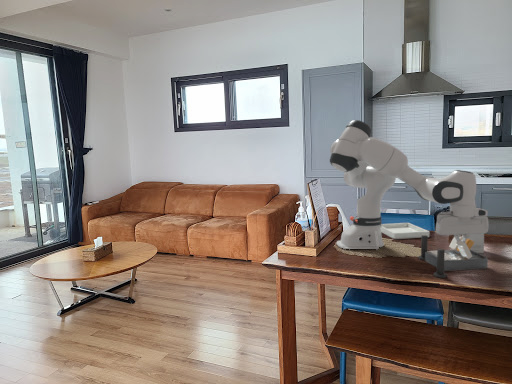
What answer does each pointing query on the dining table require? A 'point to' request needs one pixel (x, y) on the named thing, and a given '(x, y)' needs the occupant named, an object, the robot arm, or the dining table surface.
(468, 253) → the paddle
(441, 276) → the cord posts
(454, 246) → the paddle
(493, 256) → the dining table surface
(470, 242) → the paddle amber
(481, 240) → the skincare box
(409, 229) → the tray
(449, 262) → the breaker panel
